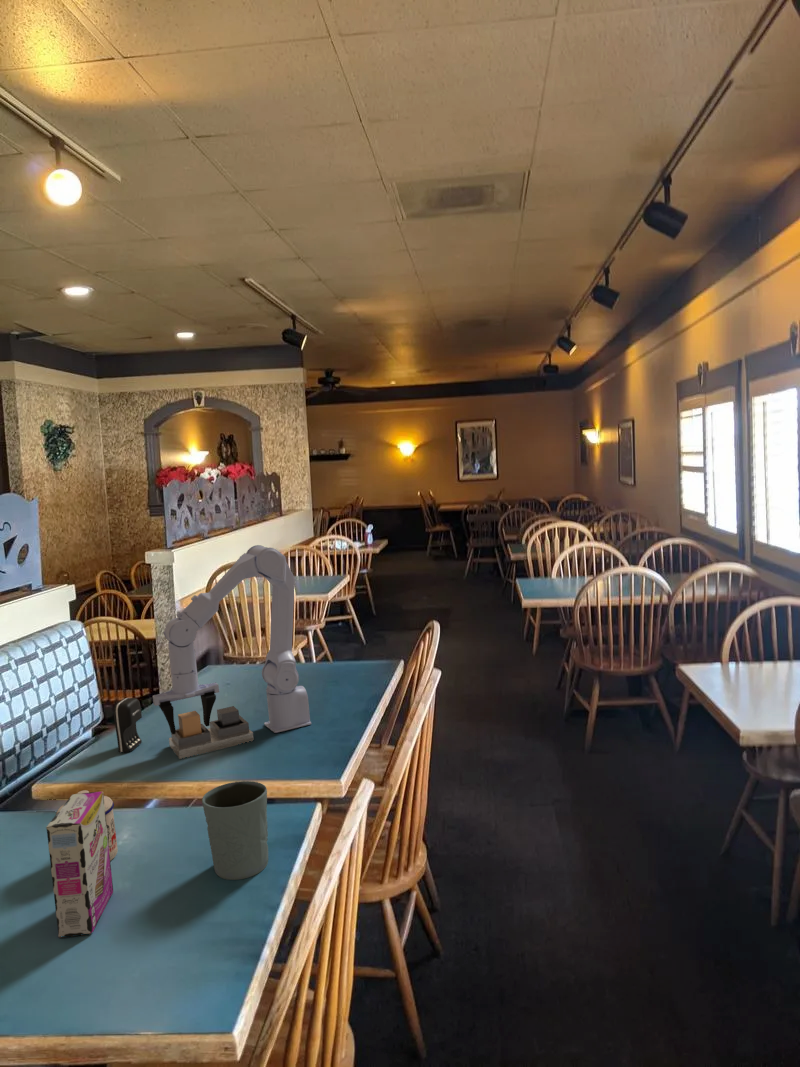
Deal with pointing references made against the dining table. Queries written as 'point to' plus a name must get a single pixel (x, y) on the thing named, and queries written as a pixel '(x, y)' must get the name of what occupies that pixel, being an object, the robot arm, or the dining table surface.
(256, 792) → the grey cup
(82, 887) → the candy bar box
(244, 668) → the dining table surface
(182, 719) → the plug
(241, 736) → the power strip
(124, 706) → the battery
